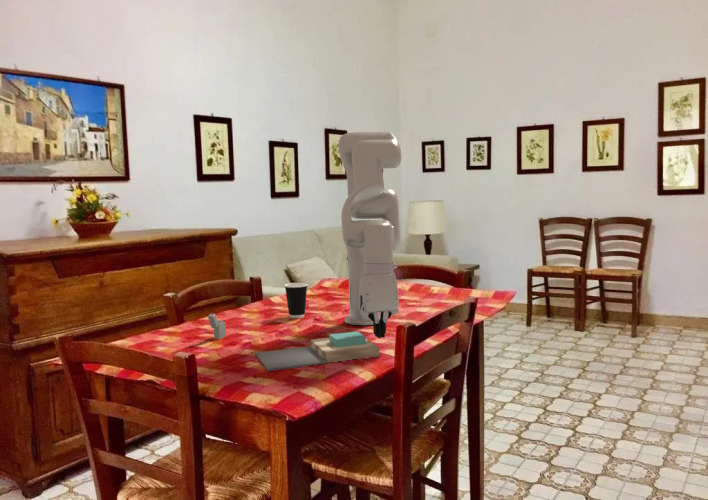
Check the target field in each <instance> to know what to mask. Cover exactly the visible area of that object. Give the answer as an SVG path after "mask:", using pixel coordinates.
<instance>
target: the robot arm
mask: <svg viewBox="0 0 708 500" xmlns="http://www.w3.org/2000/svg"><path fill="white" fill-rule="evenodd" d="M395 136H396V135H394V133H392V132H389V131H363V132H362V131H357V132H353V131H352V132H348V133H347V132H346V133H344V134H342V135H341V136H340V137H339V140H338V153H339V157H340V160H341V163H342V166H343V169H344V172H345V175H346V180H347V181H346V182H347V184H346V185H347V198H346V199H345V200H344V203H343V206H342V209H341V215H340V216H341V232H342V233H341V234H342V239H343V243H344V244H345V248H346V254H347V263H348V264H347V266H348V294H349V295H348V297H349V298H348V299H349V301H348V303H349V305H348V306H349V315H347V316H346V317H345V318H344V322H345V323H346V324H348V325H352V326H373V327H372V328H373V335H374V336H375V337H376V338H377V339H381V338H382V339H383V338H386V336H385V334H387V323H388V321H389V319H390V318H391V317H392V316H394V315H397V314H399V312H400V311H399V302H400V298H399V287H398V281H397V277H396V274H395V272H394V270H395V269H398V264H397V263H395V262H394V261H393V260H394V259H393V253H394V252H397V250H399V248H400V244H401V232H400V230H401V229H400V227H401V226H400V207H399V199H398V196H397V193H396V192H395V191H394V190H393V189H391V188H385V182H384V173H383V169H396V168H398V167H400V165H401V162H402V150H401V145H400V143H399V141H398V139H397V137H395ZM352 218H353V219H357V220H353V219H352Z"/></svg>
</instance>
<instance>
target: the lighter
mask: <svg viewBox="0 0 708 500" xmlns="http://www.w3.org/2000/svg"><path fill="white" fill-rule="evenodd" d="M207 318H208V322H209V325H210V327H211V328H212V329H213V334H214V335H213V339H214V340H216V339H218V341H219V340H221V339H224V338H226V336H227V333H226V322H225V321H223V319H217V316H216V313H210V314H208V316H207Z"/></svg>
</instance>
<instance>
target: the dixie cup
mask: <svg viewBox="0 0 708 500" xmlns="http://www.w3.org/2000/svg"><path fill="white" fill-rule="evenodd" d="M283 285H284V286H283V287H284V288H285V295H286V302H287V309H288V315H289V318H291V319H301V318H304V317H305V314H306V308H307V307H306V306H307V305H306V303H307V290H308V286H309V284H308V283H307V282H306V283H305V282H290V283H286V284H283Z"/></svg>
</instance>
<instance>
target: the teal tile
mask: <svg viewBox="0 0 708 500" xmlns="http://www.w3.org/2000/svg"><path fill="white" fill-rule="evenodd" d="M328 338H329V340H330V343H332V344H333V345H334V346H335V347H344V346H352V345H361V344H366V339H367V338H366V336H365V335H364V334H362V333H360V332H359V331H351V332H341V333H340V332H339V333H332V334H329V337H328Z"/></svg>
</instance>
